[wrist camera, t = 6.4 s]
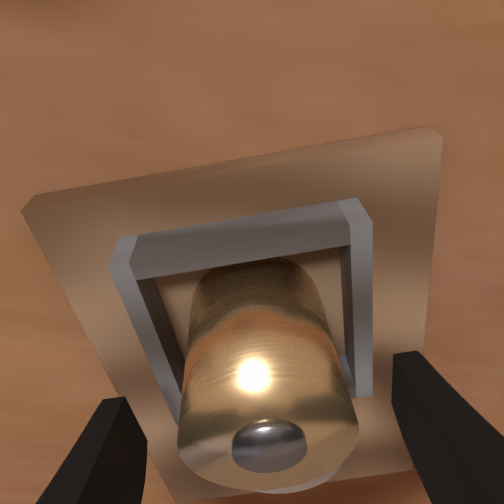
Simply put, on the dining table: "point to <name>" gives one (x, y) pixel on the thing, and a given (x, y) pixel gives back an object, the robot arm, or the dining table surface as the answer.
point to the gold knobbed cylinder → (262, 380)
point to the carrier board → (250, 249)
